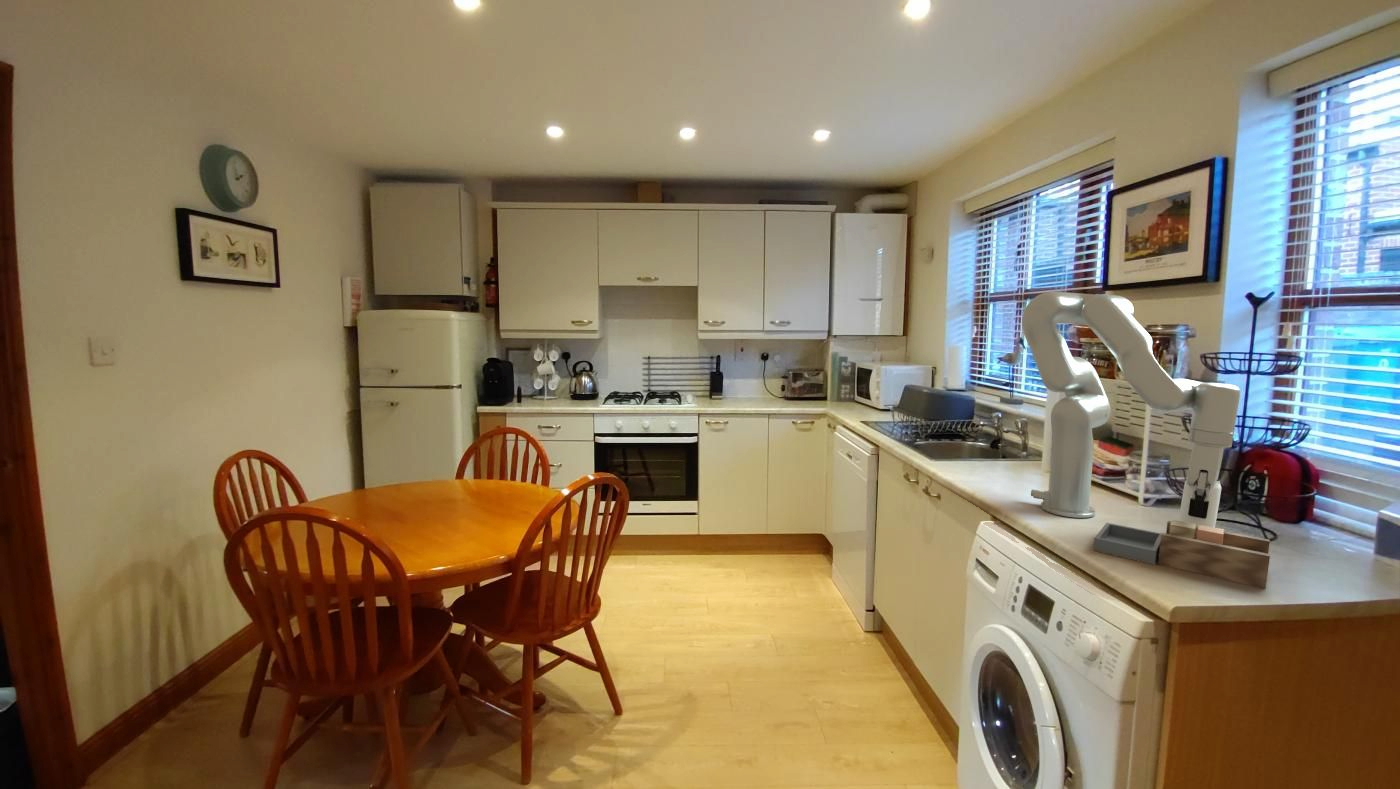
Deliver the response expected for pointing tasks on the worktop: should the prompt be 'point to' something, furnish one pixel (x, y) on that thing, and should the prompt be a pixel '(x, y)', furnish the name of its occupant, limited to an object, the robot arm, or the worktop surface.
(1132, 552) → the tray
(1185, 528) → the maple block
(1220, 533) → the terracotta block
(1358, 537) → the worktop surface
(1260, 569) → the slot block
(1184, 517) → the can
